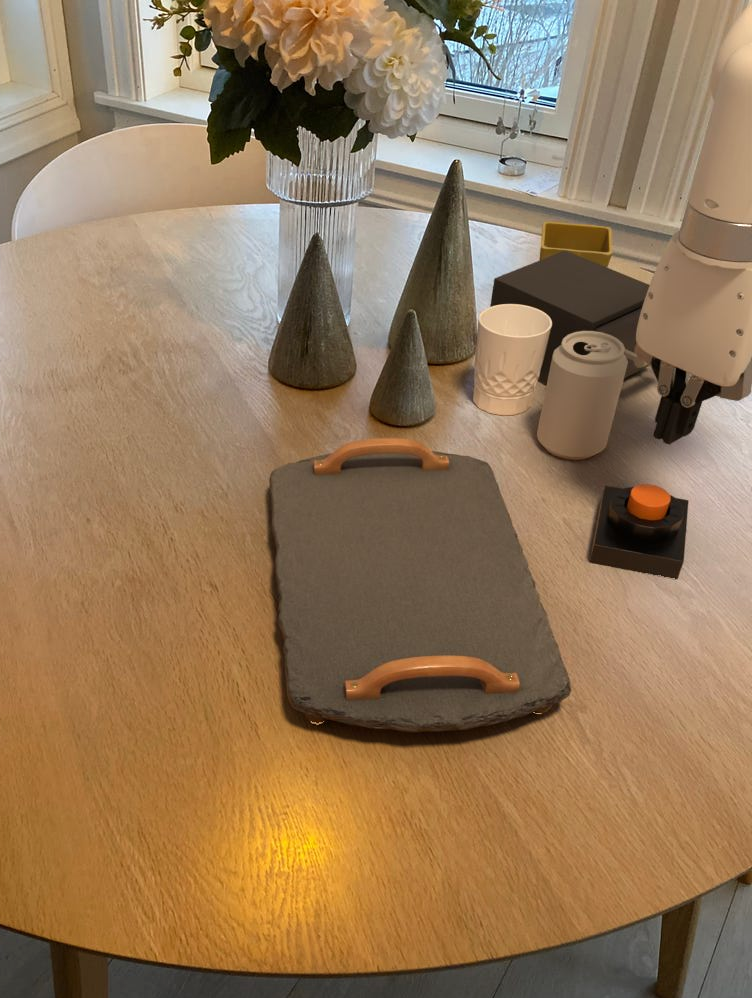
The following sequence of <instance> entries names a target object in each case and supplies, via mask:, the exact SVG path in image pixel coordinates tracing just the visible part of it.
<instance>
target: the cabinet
mask: <svg viewBox="0 0 752 998" xmlns="http://www.w3.org/2000/svg"><path fill="white" fill-rule="evenodd" d="M649 286H650V283H646V282H644V281H641V280H639V279H637V278H634V277H632V276H630V275H626V274H624V273H622V272H619V271H617V270H614V269H612V268H609V267H605V266H602V265H600V264H597V263H595V262H592V261H590V260H587V259H585V258H582V257H580V256H577V255H575V254H573V253H570V252H568V251H562V252H560V253H557V254H555V255H552V256H550V257H547V258H545V259H542V260H540V261H539V260H537V261H534V262H532V263H529V264H527V265H524V266H522V267H519V268H517V269H515V270H512V271H509V272H506V273H504V274H502V275H500V276H497V277H494V279H493V286H492V292H491V299H490V306H489V307H492V306H496V305H502V304H519V305H525V306H530V307H533V308H536V309H539V310H541V311H543V312H544V313H546V314H547V315H548V316H549V317H550V318H551V320H552V327H551V331H550V335H549V339H548V343H547V347H546V352H545V356H544V360H543V364H542V367H541V370H540V375H539V379H538V382H539V383H541V384H542V385H544V386H547V381H548V376H549V371H550V366H551V361H552V356H553V353H554V350H555V349H557V348H558V347H559V346H560V345H562V344H561V343H562V340H563V338H565V337H566V336H567V335H569V334H571V333H574V332H579V331H595V329H596V327H598V326H600V325H602V324H604V323H607V322H609V321H611V320H613V319H615V318H618V317H620V316H622V315H624V314H626V313H628V312H631V311H633V310H635V309H637V308H639V307H642V306H643V303H644V300H645V297H646V294H647V291H648V288H649Z"/></svg>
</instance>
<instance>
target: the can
mask: <svg viewBox="0 0 752 998" xmlns="http://www.w3.org/2000/svg"><path fill="white" fill-rule="evenodd" d="M561 344H562V345H560V346H559V347H558V348H557V349H555V350H554V353H553V356H552V361H551V366H550V371H549V376H548V381H547V385H545V386H546V387H545V392H544V397H543V402H542V407H541V411H540V417H539V421H538V427H537V431H536V437H537V440H538V441H539V443H540V445H542V447H544V449H545V450H546V451H547V452H549V453H550V454H551V455H553V456H555V457H558V458H561V459H566V460H570V461H572V460H574V461H576V460H577V461H579V460H585V459H589V458H591V457H593V456H595V455H597V454H600V453H602V452H603V451H604V450H605V449H606V448H607V446H608V445H607V444H608V441H609V437H610V434H611V430H612V426H613V422H614V418H615V414H616V410H617V406H618V403H619V399H620V395H621V391H622V387H623V384H624V379H625V378H624V376H625V372H626V368H627V364H628V361H627V358H626V356H625V355H624V351H625V347H624V345H623V343H622V342H621V341H620V340H618V339H617V338H615V337H613V336H611V335H609V334H605V333H602V332H596V331H579V332H574V333H571V334H569V335H567V336H566V337H565V338H563V340H562V343H561Z"/></svg>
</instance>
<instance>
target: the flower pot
mask: <svg viewBox="0 0 752 998" xmlns="http://www.w3.org/2000/svg"><path fill="white" fill-rule="evenodd" d="M612 233H613V230H612V227H610V226H602V225H593V224H584V223H583V224H582V223H571V222H556V221H543V222H542V228H541V240H540V249H539V260H538V261H540V260H542V259H545V258H547V257H550V256H552V255H555V254H557V253H560V252H562V251H568V252H570V253H573V254H575V255H577V256H580V257H582V258H585V259H587V260H590V261H592V262H595V263H597V264H600V265H602V266H605V267H607V268H609V264H610V261H611V258H612V256H613V234H612Z"/></svg>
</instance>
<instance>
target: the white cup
mask: <svg viewBox="0 0 752 998" xmlns="http://www.w3.org/2000/svg"><path fill="white" fill-rule="evenodd" d="M551 327H552V320H551V318H550V317H549V316H548V315H547V314H546V313H544V312H543V311H541V310H539V309H536V308H533V307H530V306H525V305H519V304H502V305H496V306H492V307H490V306H489V307H487V308H485V309H483V310H482V311H481V312H480V313H479V316H478V321H477V333H476V343H475V355H474V367H473V368H474V371H473V379H474V381H473V392H472V393H473V395H472V402H473V403H474V404H475V406H477V408H478V409H480V410H482V411H484V412H486V413H487V414H492V415H496V416H497V415H498V416H516V415H519V414H522V413H525V412H526V411H527V410H528V409H529V408H530V407H531V406H532V403H533V399H534V395H535V390H536V386H537V384H538V382H539V381H538V379H539V375H540V370H541V367H542V364H543V360H544V356H545V352H546V347H547V343H548V339H549V335H550V331H551Z"/></svg>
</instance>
